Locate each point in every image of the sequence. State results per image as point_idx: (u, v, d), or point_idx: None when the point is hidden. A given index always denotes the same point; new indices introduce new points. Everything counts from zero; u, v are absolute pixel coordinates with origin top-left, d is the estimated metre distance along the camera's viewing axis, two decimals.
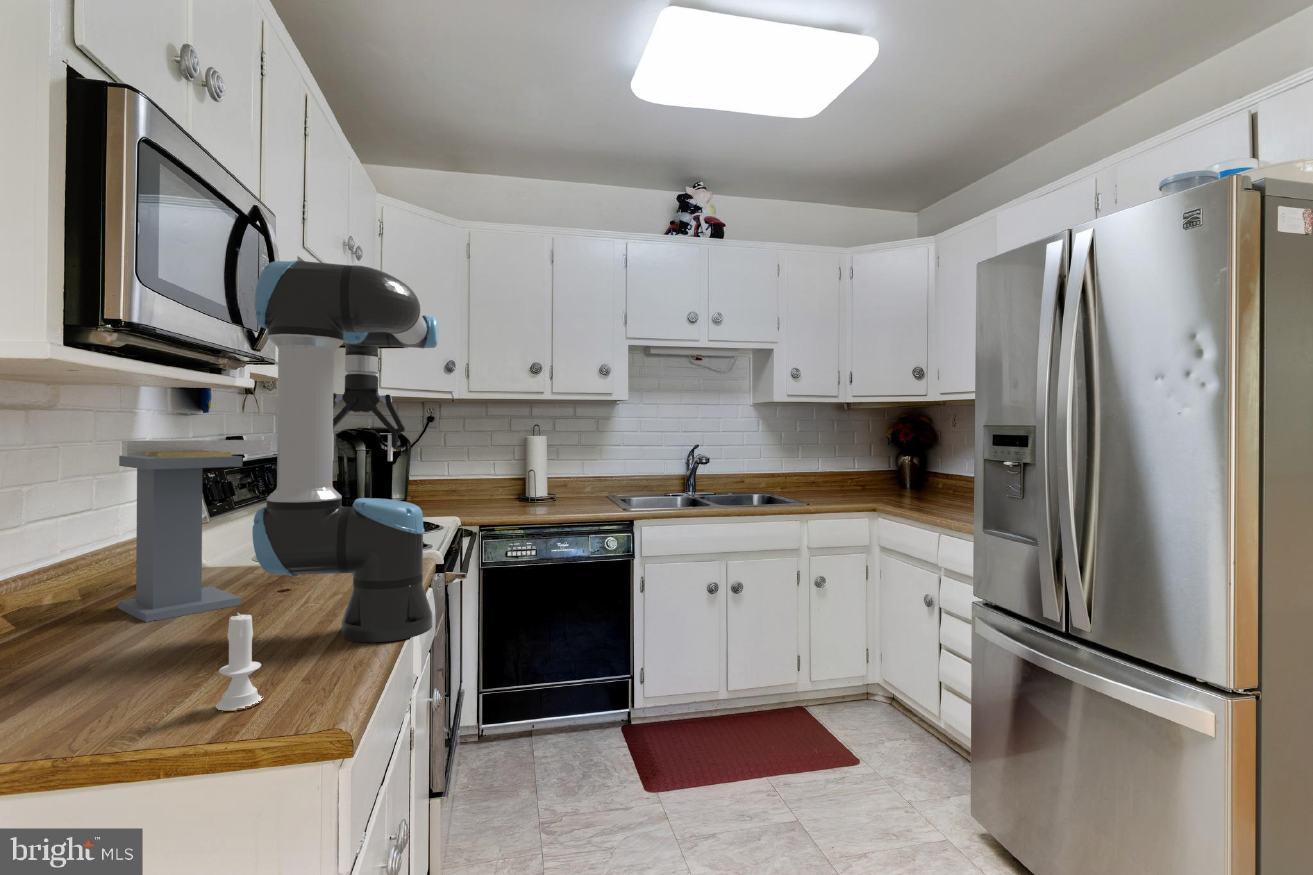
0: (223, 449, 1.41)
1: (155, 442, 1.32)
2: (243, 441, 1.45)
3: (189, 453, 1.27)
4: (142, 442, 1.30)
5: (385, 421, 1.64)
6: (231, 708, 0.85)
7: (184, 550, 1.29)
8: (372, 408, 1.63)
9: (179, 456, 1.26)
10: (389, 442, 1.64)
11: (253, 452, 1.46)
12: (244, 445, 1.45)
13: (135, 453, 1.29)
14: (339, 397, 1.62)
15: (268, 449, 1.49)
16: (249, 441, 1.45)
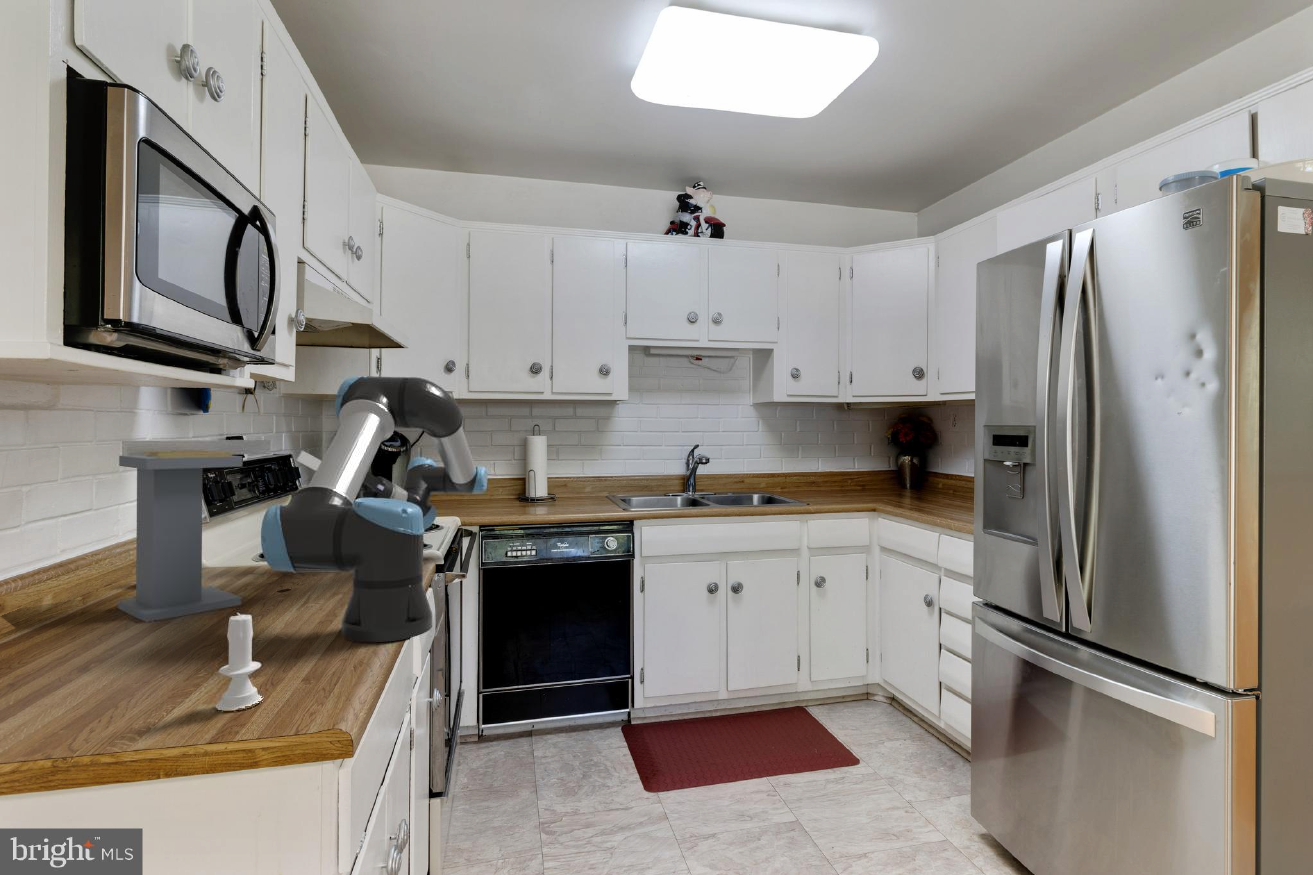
0: (223, 449, 1.41)
1: (155, 442, 1.32)
2: (243, 441, 1.45)
3: (189, 453, 1.27)
4: (142, 442, 1.30)
5: None
6: (231, 708, 0.85)
7: (184, 550, 1.29)
8: None
9: (179, 456, 1.26)
10: None
11: (253, 452, 1.46)
12: (244, 445, 1.45)
13: (135, 453, 1.29)
14: None
15: (268, 449, 1.49)
16: (249, 441, 1.45)
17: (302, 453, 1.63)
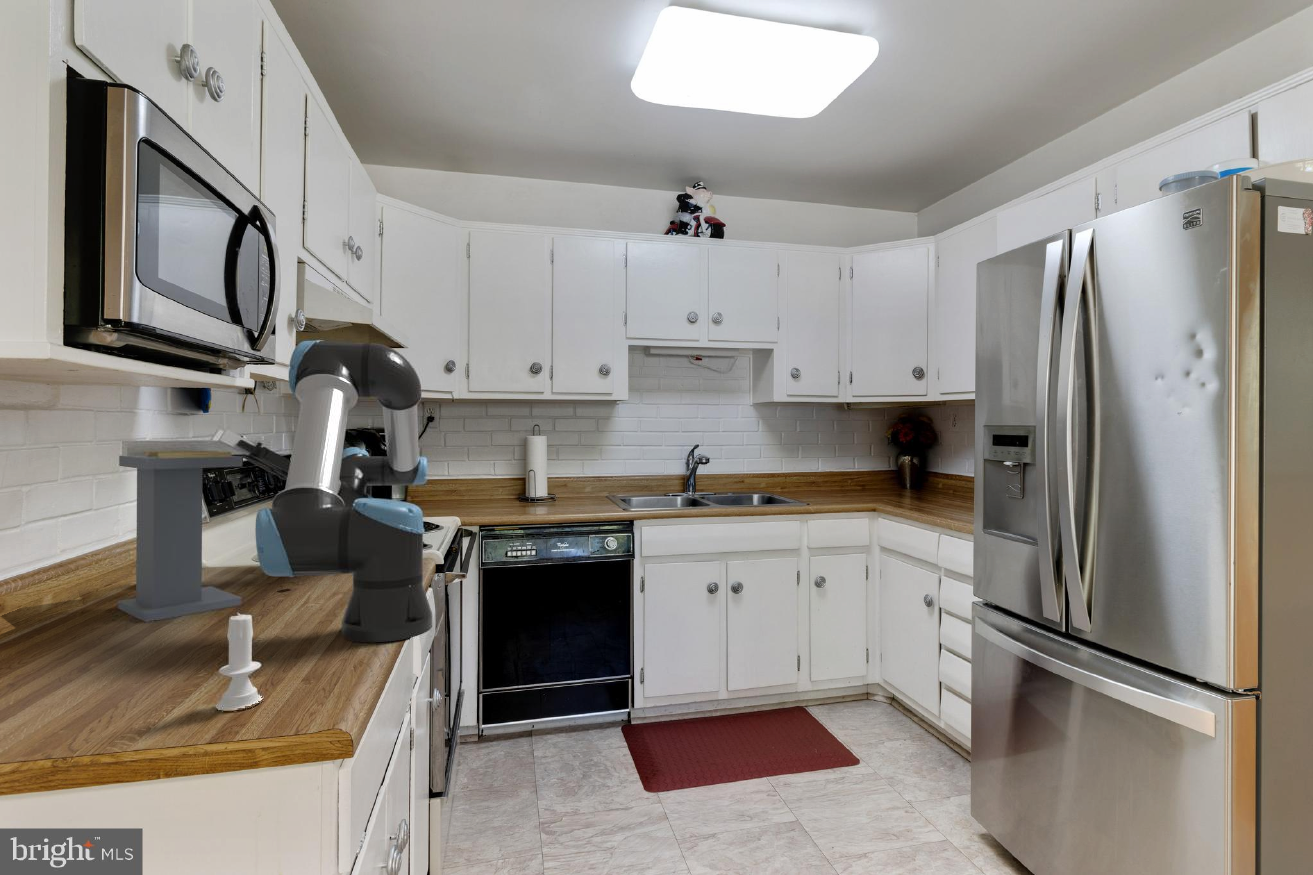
0: (223, 449, 1.41)
1: (155, 442, 1.32)
2: None
3: (189, 453, 1.27)
4: (142, 442, 1.30)
5: None
6: (231, 708, 0.85)
7: (184, 550, 1.29)
8: None
9: (179, 456, 1.26)
10: None
11: None
12: None
13: (134, 453, 1.29)
14: None
15: None
16: None
17: (219, 432, 1.43)
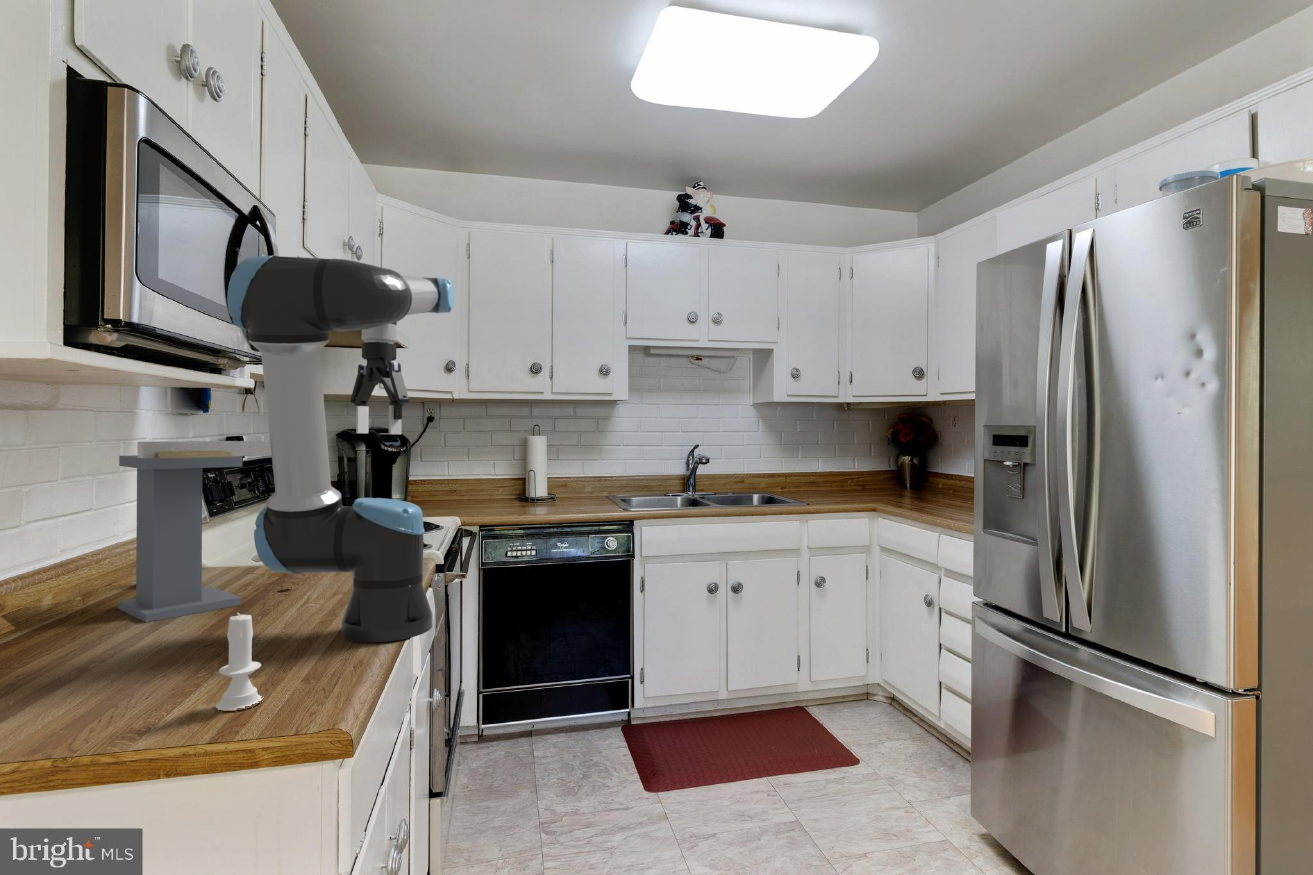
0: (241, 450, 1.36)
1: (172, 443, 1.27)
2: (261, 442, 1.40)
3: (189, 453, 1.27)
4: (158, 443, 1.25)
5: (388, 391, 1.52)
6: (231, 708, 0.85)
7: (184, 550, 1.29)
8: (379, 377, 1.53)
9: (179, 456, 1.26)
10: (389, 413, 1.51)
11: (271, 453, 1.41)
12: (262, 446, 1.40)
13: (151, 455, 1.24)
14: (365, 368, 1.59)
15: None
16: (267, 442, 1.41)
17: (360, 432, 1.60)
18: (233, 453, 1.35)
